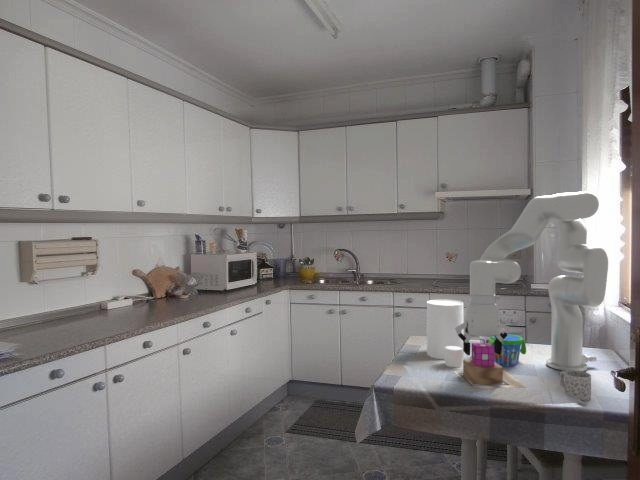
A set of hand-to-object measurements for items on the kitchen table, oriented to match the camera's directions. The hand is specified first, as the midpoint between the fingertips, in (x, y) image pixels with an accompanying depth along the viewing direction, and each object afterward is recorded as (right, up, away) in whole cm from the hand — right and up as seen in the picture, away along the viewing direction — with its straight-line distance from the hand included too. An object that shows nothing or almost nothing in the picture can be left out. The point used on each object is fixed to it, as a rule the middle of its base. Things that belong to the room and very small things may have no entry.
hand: (482, 353), depth 144 cm
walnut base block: (0, -8, 0) cm, 8 cm away
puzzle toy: (0, -3, 0) cm, 3 cm away
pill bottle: (+12, -8, +28) cm, 31 cm away
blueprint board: (+2, -9, 0) cm, 9 cm away
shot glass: (-5, -9, +15) cm, 18 cm away
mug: (+23, -9, -11) cm, 27 cm away
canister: (-3, -8, +31) cm, 32 cm away
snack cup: (+14, -9, +17) cm, 24 cm away
